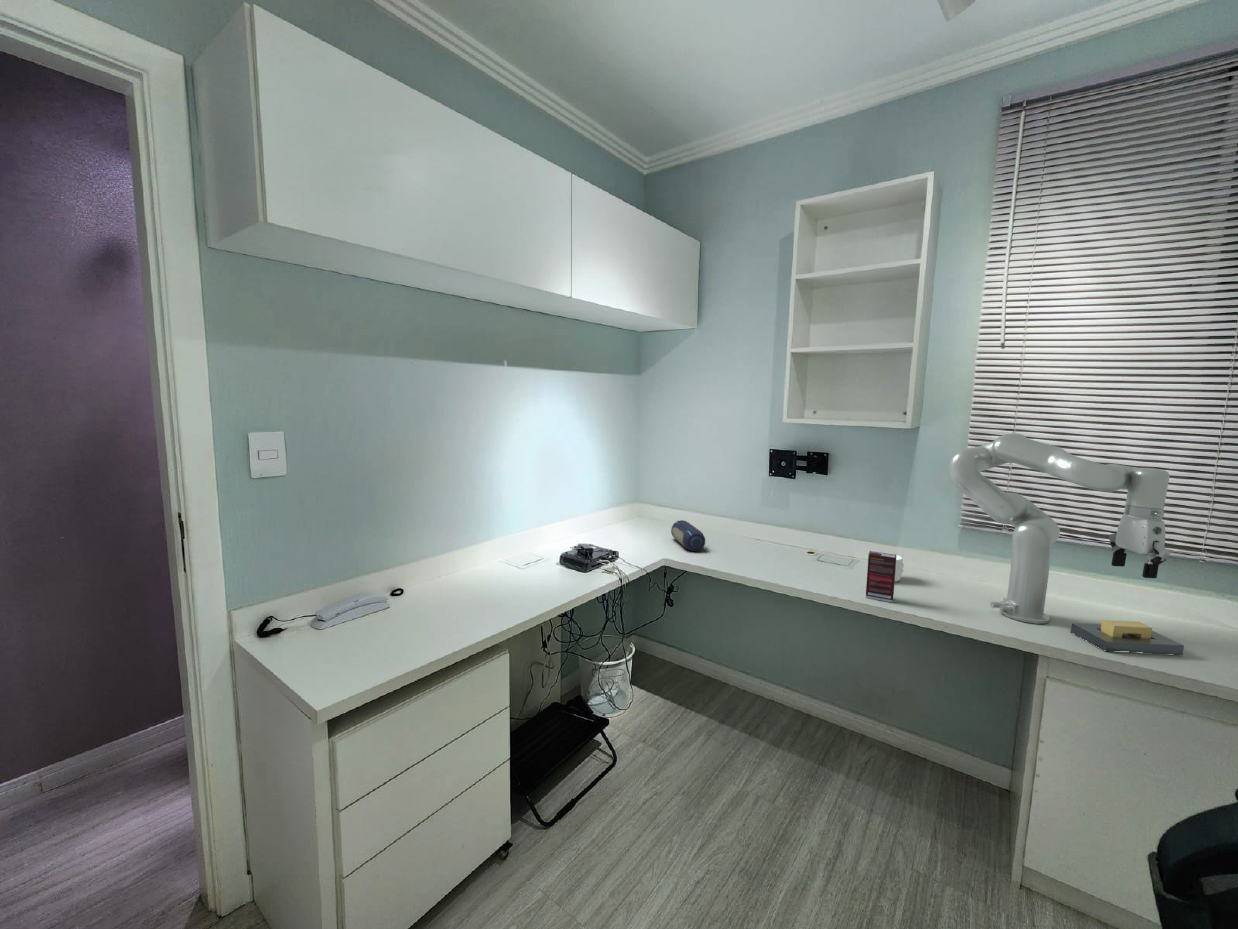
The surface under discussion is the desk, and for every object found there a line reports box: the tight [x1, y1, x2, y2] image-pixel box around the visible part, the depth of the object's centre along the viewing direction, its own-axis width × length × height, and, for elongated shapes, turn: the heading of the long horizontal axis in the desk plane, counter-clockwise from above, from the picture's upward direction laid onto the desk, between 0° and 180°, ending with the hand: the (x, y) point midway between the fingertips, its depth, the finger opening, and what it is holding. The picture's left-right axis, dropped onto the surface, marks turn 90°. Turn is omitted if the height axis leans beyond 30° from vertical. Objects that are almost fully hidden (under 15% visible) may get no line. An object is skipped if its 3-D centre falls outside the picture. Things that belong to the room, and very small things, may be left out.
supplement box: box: [865, 550, 897, 603], centre depth 178 cm, size 9×5×16 cm, turn 60°
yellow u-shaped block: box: [1101, 619, 1153, 639], centre depth 147 cm, size 10×4×6 cm, turn 85°
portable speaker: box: [670, 519, 706, 552], centre depth 239 cm, size 25×10×10 cm, turn 12°
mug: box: [888, 552, 905, 583], centre depth 197 cm, size 12×10×9 cm
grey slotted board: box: [1070, 622, 1185, 656], centre depth 148 cm, size 20×12×3 cm, turn 85°
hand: (1133, 571), depth 145 cm, fingers open, 9 cm apart
